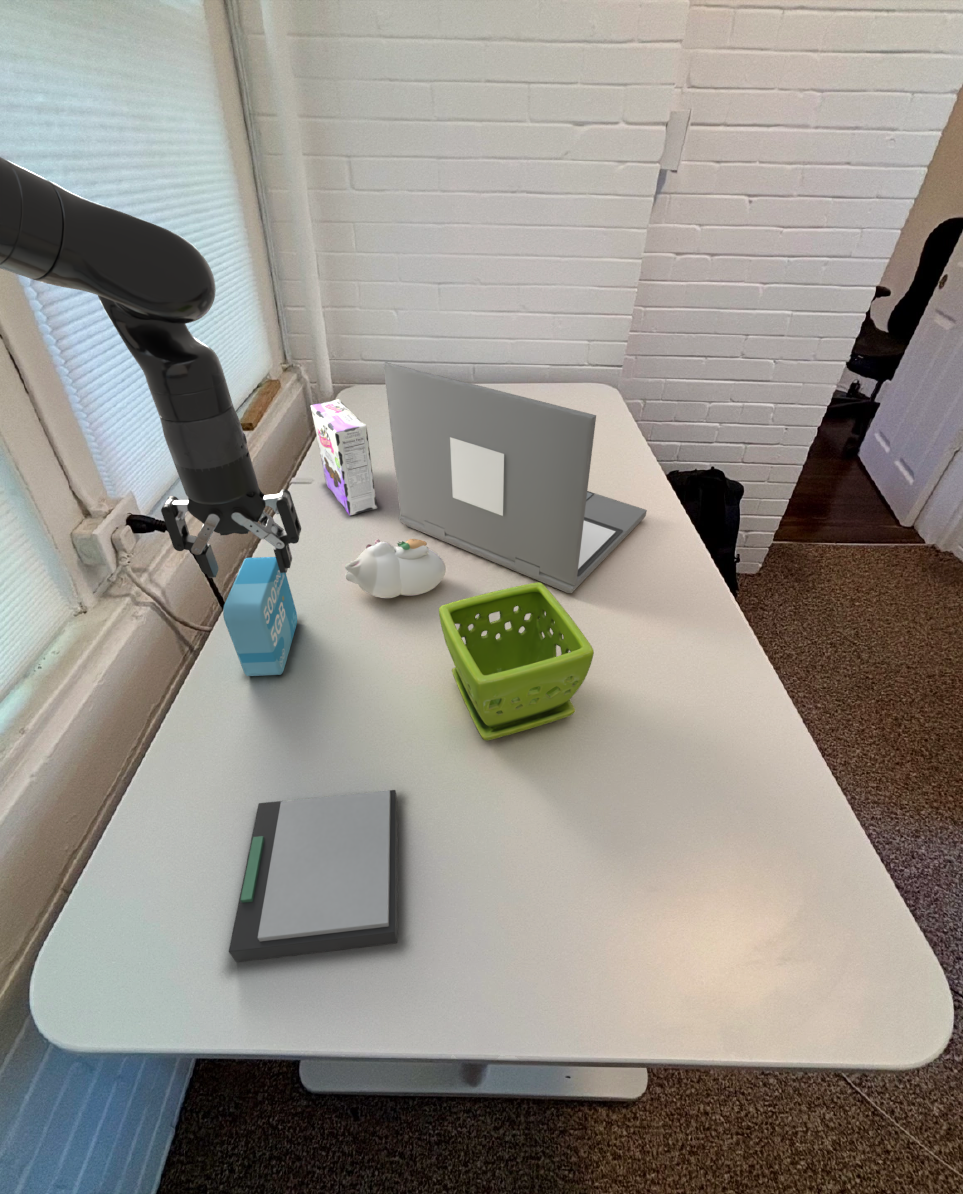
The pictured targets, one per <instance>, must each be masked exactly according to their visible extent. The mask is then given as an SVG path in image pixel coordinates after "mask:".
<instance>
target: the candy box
mask: <svg viewBox="0 0 963 1194" xmlns="http://www.w3.org/2000/svg"><path fill="white" fill-rule="evenodd" d="M310 410H311V416H312V420H313V424H314V430H315V435H316V439H317V444H318V449H319V453H320V458H321V464H322V468H323V475H324V480H325V484H326V486H327V488H328V490H330V492H331V493H332V494H333V496H334V497H335V498H336V500H337V501H338V503H340V505H341V506H342V507H343V508H342V509H344V510H345V512H346V513H347V514H348V515H349V516H353V515H357V514H361V513H365V512H369V511H373V510H377V509H378V503H377V496H376V489H375V481H374V473H373V466H372V458H371V448H370V442H369V441H370V440H369V433H368V427H367V424H366V423H364V422H363V421H362V420H360V418H359V417H357V415H356V414H354V413H353V411H352V410H350V408H348V407H347V406H346V405H345V404H344V403H343V402H342V400H341V399H340V398H338V399H333V400H329V401H328V400H327V401H324V402H320V403H314V404H311V405H310Z"/></svg>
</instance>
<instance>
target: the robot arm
mask: <svg viewBox="0 0 963 1194" xmlns="http://www.w3.org/2000/svg"><path fill="white" fill-rule="evenodd" d="M0 269H1V270H4V271H7V272H10V273H13V274H15V275H19V276H22V277H25V278H27V279H29V280H30V279H31V280H33V281H37V282H40V283H43V284H48V285H51V286H56V287H60V288H65V289H71V290H77V291H83V292H86V293H90V294H93V295H96V296H97V297H98V299H99V302H100V304H101V305H102V308H103V310H104V311H105V313H106V315H107V317H108V318H109V320H110V322H111V324H112V325H113V327H114V329H115V330H116V331H117V333H118V335H119V337H120V338H121V340H122V341H123V343H124V345H125V346H126V348H127V350H128V351H129V353H130V354H131V356H132V357H133V358H134V360H135V361H136V362H137V364H138V366H139V367H140V369H141V371H142V372H143V374H144V377H145V380H146V384H147V386H148V389H149V391H150V395H151V397H152V400H153V402H154V406H155V408H156V411H157V413H158V417H159V418H160V423H161V428H162V433H163V436H164V439H165V443H166V445H167V448H168V451H169V453H170V456H171V458H172V461H173V465H174V467H175V469H176V471H177V474H178V477H179V480H180V482H181V486H182V488H183V491H184V493H185V495H186V497H187V498H188V499H179V498H178V497H177V496H174V495H169V496H168V497H167V499H166V500H165V502H164V504H163V505H162V507H161V509H160V512H161V515H162V518H163V521H164V524H165V528H166V530H167V533H168V535H169V538H170V542H171V544H172V547H173V549H174V550H175V551H177V552H183V551H189V552H191V553H192V554H194V556H195V559H196V561H197V563H198V566H199V569H200V571H201V572H202V574H204V575H207V577H208V578H209V579H211V578H213V579H215V578H216V577H217V576H218V573H219V569H220V568H219V567H220V566H219V564H218V561H217V559H216V556H215V553H214V551H213V547H212V545H211V543H208V542H209V540H210V539H211V537H212V535H213V534H214V533H216V534H220V536H229V535H232V534H237V535H248V534H249V532H250V533H252V534H253V535H254V536H256V537H257V538H258V539H259V540H265V541H266V542H268V543H269V544H270V545H272V546H273V552H274V553H273V554H274V557H276V560H277V563H278V567H279V570H280V573H286V574H287V572H288V569H290V568H291V565H292V561H293V556H292V552H291V548H290V545H291V544H297V543H299V541H300V535H301V532H302V526H301V523H300V520H299V517H298V513H297V510H296V507H295V503H294V500H293V498H292V494H291V492H290V490H288V489H285V488H282V489H280V491H279V493H274V494H273V493H272V494H265V493H264V492H263V491H262V490H261V489H260V487H259V483H258V479H257V476H256V472H255V468H254V465H253V462H252V458H251V454H250V452H249V451H250V450H249V448H248V441H247V436H246V434H245V433H244V430H243V426H242V424H241V421H240V418H239V416H238V414H237V411H236V409H235V407H234V404H233V400H232V397H231V393H230V390H229V386H228V383H227V380H226V379H227V378H226V375H225V373H224V369H223V367H222V364H221V361H220V358H219V357H218V354H217V353H216V352H215V350H213V348H211V347H210V346H208V345H207V344H205V343H204V342H201V341H200V340H199V339H197V338H196V337H195V336H194V335H193V333H191V332H190V330H189V328H188V326H187V324H191V323H194V322H197V321H199V320H200V319H202V318H203V317H205V316H206V314H208V313H209V311H210V310H211V308H212V307H213V304H214V302H215V299H216V291H217V290H216V281H215V277H214V273H213V271H212V269H211V267H210V265H209V263H208V262H207V259H206V258H205V257H204V256H203V254H202V253H201V252H200V250H198V249H197V247H196V246H194V245H193V244H192V243H191V242H189V241H188V240H187V239H185V238H184V237H182V236H181V235H179V234H177V233H175V232H174V231H171V230H169V229H166V228H165V227H162V226H160V225H157V224H155V223H152V222H150V221H147V220H144V219H142V218H139V217H136V216H133V215H130V214H128V213H125V212H124V211H123V212H122V211H120V210H117V209H115V208H111V207H109V206H106V205H103V204H99V203H97V202H94V201H92V200H89V199H87V198H84V197H81V196H79V195H78V194H75V193H72V192H71V191H69V190H67V189H65V188H64V187H62V186H60V185H58V184H57V183H55V182H52V181H50V180H48V179H46V178H44V177H42V176H41V175H38V174H36V173H35V172H33V171H30V170H28V169H27V168H25V167H22V166H20V165H18V164H16V163H13V162H11V161H10V160H7V159H5V158H4V157H2V156H0ZM266 507H269V508H271V509H272V510H273V513H275V515H279V517H280V521H281V522H282V526H283V527H282V526H281V525H279V524H277V522H276V521H275V520H274V518H273V516H271V514H269V513H268V512H266V511H265V510H266ZM188 513H189V514H190V515H191V516H193V517H194V518H195V519H197V521H198V522H201V523H202V525H201V528H200V529H199V531H198V533H197V535H192V534H191V533H190V531H189V527H188V525H187V522H186V519H185V518H186V516H187V514H188ZM289 544H290V545H289Z"/></svg>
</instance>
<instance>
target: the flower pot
mask: <svg viewBox="0 0 963 1194" xmlns="http://www.w3.org/2000/svg"><path fill="white" fill-rule="evenodd" d="M516 607H517V610H515V608H516ZM495 613H499V619H496V620H493V621H491V620H490V615H491V614H495ZM528 614H530V615H529V618H528V619H525V618H526V615H528ZM438 615H439V622H440V627H441V630H442V635H443V638H444V641H445V645H446V648H447V650H448V652H449V655H450V657H451V659H452V662H453V665H454V667H453V668H451V674H452V676H453V678H454V681H455V683H456V686H457V689H458V690H459V692H460V695H461V697H462V699H463V702H464V704H465V706H466V709H467V712H468V714H469V716H470V717H471V719H472V721H473V724H474V726H475V728H476V729H477V732H478V733H479V735H480V737H481V738H482V740H483V741H493V740H495V739H499V738H502V737H506V736H509V735H513V734H517V733H521V732H523V731H524V732H525V731H527V730H530V729H534V728H537V727H540V726H543V725H547V724H549V723H553V722H556V721H560V720H563V719H565V718H568V717H570V716H571V715H574V714H575V712H576V708H575V706H574V704H573V702H572V701H571V698H573V696H575V694H576V693H577V691H579V689H580V688H581V686H582V684H584V681H585V680H586V677H587V675H588V674H589V671H590V668H591V665H592V662H593V658H594V653H595V652H594V648H593V646H592V645H591V643H590V642H589V640H588V639H587V637H586V636H585V634H584V633H583V631H582V630H581V629H580V627H579V626H578V625H577V624H576V622H575V621H574V620H573V618H572V617H571V615H570V614H569V612H567V610H565V608H564V607H563V605H562V604H561V602H559V601H558V600H557V598H556V596H554V595H553V594H552V592H551V591H550V590H549V589H548V588H547V587H546V586H545V584H544V583H542V582H540V581H538V582H532V583H526V584H521V585H515V586H512V587H508V588H503V589H498V590H495V591H490V592H487V593H483V594H477V595H473V596H470V597H466V598H463V599H459V600H456V601H452V602H448V603H444V604H442V605H440V606H439V608H438ZM477 615H478V616H477ZM507 623H510V628H506V624H507ZM456 625H459V626H458V628H457V626H456ZM471 625H472V628H470V629H469V626H471ZM521 628H524V630H523V631H522V632H520V629H521ZM483 632H486V634H485V635H482V634H483ZM498 634H499V637H498V638H497V635H498ZM543 635H544V636H543ZM463 638H464V639H463ZM464 641H465V642H464ZM557 646H558V647H559V648H560V655H557Z"/></svg>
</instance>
